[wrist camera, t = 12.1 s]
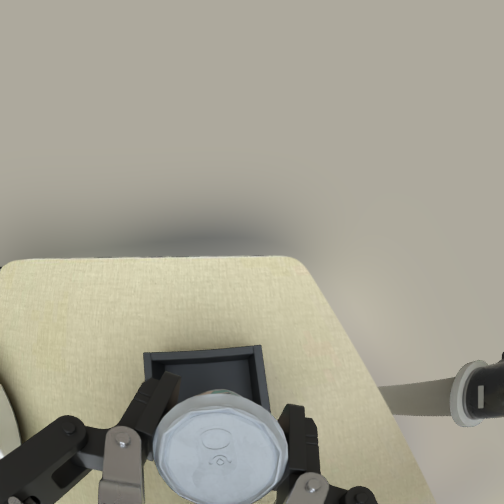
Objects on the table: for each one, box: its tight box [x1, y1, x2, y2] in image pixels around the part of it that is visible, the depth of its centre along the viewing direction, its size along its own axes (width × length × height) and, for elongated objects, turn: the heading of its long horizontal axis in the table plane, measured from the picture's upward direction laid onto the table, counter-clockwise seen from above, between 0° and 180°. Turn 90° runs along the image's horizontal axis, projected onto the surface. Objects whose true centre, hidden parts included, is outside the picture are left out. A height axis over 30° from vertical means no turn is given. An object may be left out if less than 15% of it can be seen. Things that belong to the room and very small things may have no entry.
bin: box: [143, 345, 271, 414], centre depth 26 cm, size 12×12×8 cm
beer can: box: [153, 389, 288, 504], centre depth 12 cm, size 5×5×12 cm
